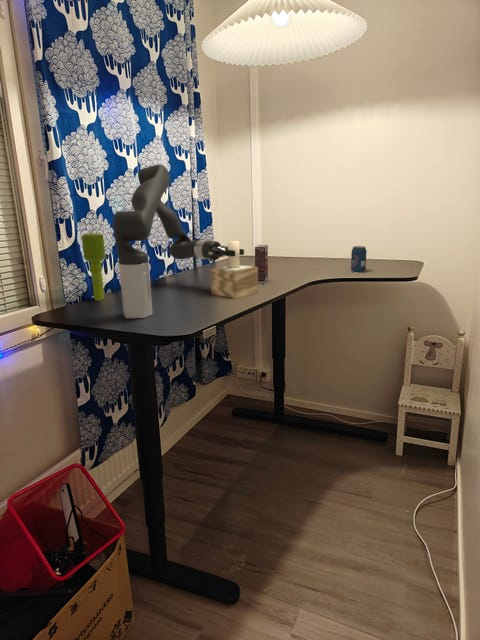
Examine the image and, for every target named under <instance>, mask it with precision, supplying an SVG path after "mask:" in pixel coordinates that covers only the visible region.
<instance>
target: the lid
mask: <svg viewBox="0 0 480 640" xmlns="http://www.w3.org/2000/svg"><path fill="white" fill-rule="evenodd" d="M227 247H228V250H234V251H235V256H234V257H233V256H227V260H228V261H227V262H228V265H223V266H224V267H222V266H219V268H217V267H215V268H216V269H220V270H229V271H239V270H244V269H249V268H252V267H253V266H252V267H249V266H250V265H243V266H240V264H241V261H240V256H241V255H240V253H239V249H240V241H239V240H228V241H227Z"/></svg>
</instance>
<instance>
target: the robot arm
mask: <svg viewBox="0 0 480 640" xmlns="http://www.w3.org/2000/svg"><path fill="white" fill-rule="evenodd" d="M137 175H138V182H139V185H138V187H136V189H135V190H134V192H133V195H132V197H131V200H130V202H131V206H132V208H133V210H125V211H124V210H120V211H117V212H115V213H114V215H113V221H112V223H113V232H114V239H115V245H116V253H117V259H118V269H119V279H120V287H121V288H120V289H121V299H122V309H123V316H124V318H125V319H146V318H148V317H151V316H152V315H153V303H152V291H151V278H150V277H151V276H150V264H149V255H148V253H147V252H146V251H142V250H139V249H137V248H135V247H133V246H132V245H131V244H130V242H143V241H146V240H148V239H149V237H150V236H151V235H150V234H151V231H152V228H153V222H154V217H155V214H157V216H158V218H159V220H160V222H161V225H162V227H163V229H164V232H165V234H166V236H167V238H168V239H176V238H177V240H176V241H174V242H173V243H172V244H171V245H170V246H169V248H168V252H169V254H170V256H171V257H172V258H173V259H176V260H187V259H191V258H196V259H202V260H209V261H216V260H219V259H220V258H224V257H225V258H226V257H228V256H233V257H234V256H235V251H234V250H228V246H226V245H222V244H221V243H220V242H219V241H216V240H191V238H190V237H189V235H188V234H187V233H186V232H185V230H184V228H183V227H182V224H181V221H180V219H179V217H178V216H177V213H176V212H175V211H174V210H173V209H172V208H170V207H169V206H168V205H167V204H165V202H163V201H162V200H161V199H162V197H163V195H164V193H165V192H166V190H167V189H168V187H169V186H170V180H171V179H170V172H169V170H168V168H166V166H164V165H163V164H154V165H150V166H147V167H143V168H141V169H140V170H138V173H137ZM239 253H240V256H244V254H245V249H244V248H239Z"/></svg>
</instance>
